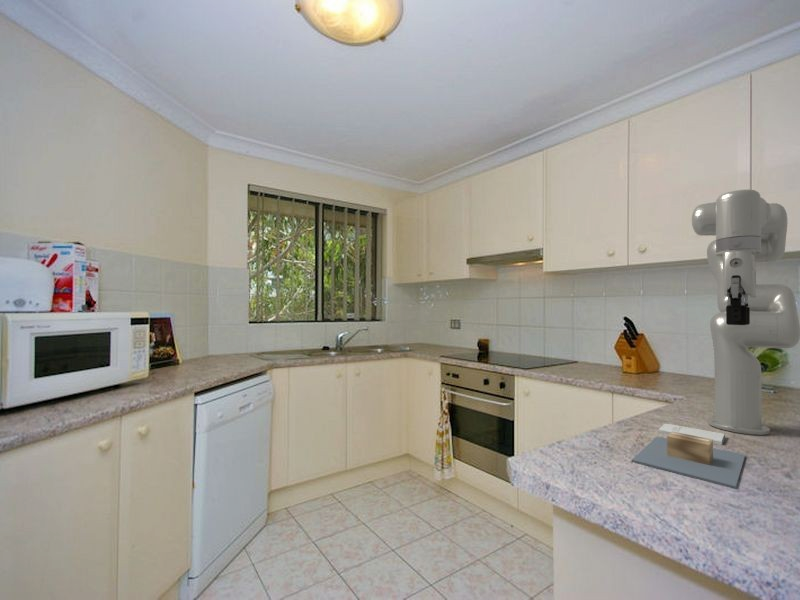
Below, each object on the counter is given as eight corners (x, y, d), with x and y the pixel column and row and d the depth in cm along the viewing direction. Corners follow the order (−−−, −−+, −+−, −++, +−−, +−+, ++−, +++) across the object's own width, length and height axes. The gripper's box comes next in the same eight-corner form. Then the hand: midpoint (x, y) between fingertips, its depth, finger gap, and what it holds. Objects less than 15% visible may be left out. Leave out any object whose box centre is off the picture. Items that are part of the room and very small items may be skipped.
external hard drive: (722, 447, 89) (658, 434, 98) (725, 439, 95) (665, 428, 104) (721, 440, 89) (658, 428, 98) (725, 433, 95) (665, 422, 104)
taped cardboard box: (713, 458, 79) (712, 438, 79) (709, 465, 76) (709, 444, 76) (672, 449, 84) (672, 430, 84) (667, 455, 81) (667, 435, 81)
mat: (657, 438, 93) (657, 436, 93) (745, 456, 82) (745, 454, 82) (631, 461, 78) (631, 459, 78) (735, 488, 66) (735, 486, 66)
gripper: (759, 239, 76) (759, 325, 75) (762, 250, 88) (763, 325, 88) (710, 244, 81) (711, 324, 81) (720, 253, 93) (720, 323, 93)
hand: (738, 324), depth 84 cm, fingers open, 9 cm apart
